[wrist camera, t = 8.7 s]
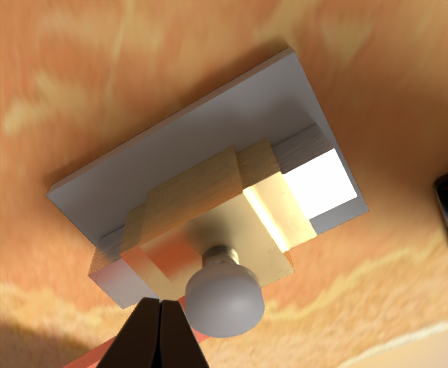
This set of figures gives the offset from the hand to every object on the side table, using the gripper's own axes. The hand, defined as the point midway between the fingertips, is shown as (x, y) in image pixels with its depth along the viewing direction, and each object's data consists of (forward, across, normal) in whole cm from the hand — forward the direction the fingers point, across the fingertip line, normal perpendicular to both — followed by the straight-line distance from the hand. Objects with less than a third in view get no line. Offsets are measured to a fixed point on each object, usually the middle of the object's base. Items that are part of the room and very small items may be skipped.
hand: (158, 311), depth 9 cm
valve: (+13, -3, +4) cm, 14 cm away
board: (+13, -3, +4) cm, 14 cm away
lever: (+5, 0, +8) cm, 9 cm away
